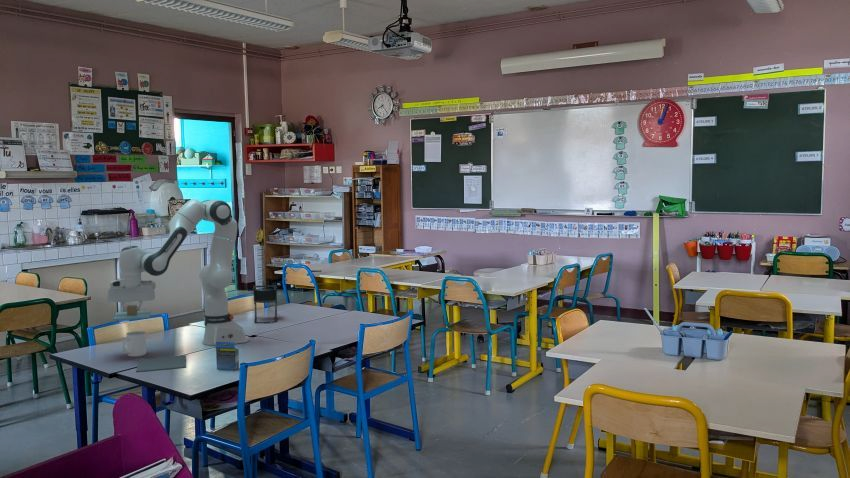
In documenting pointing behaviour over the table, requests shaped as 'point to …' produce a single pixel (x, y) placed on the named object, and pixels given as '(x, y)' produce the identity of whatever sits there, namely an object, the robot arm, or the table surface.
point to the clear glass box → (265, 299)
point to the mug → (135, 344)
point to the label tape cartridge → (227, 356)
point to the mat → (161, 363)
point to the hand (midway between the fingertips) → (132, 310)
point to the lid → (132, 313)
